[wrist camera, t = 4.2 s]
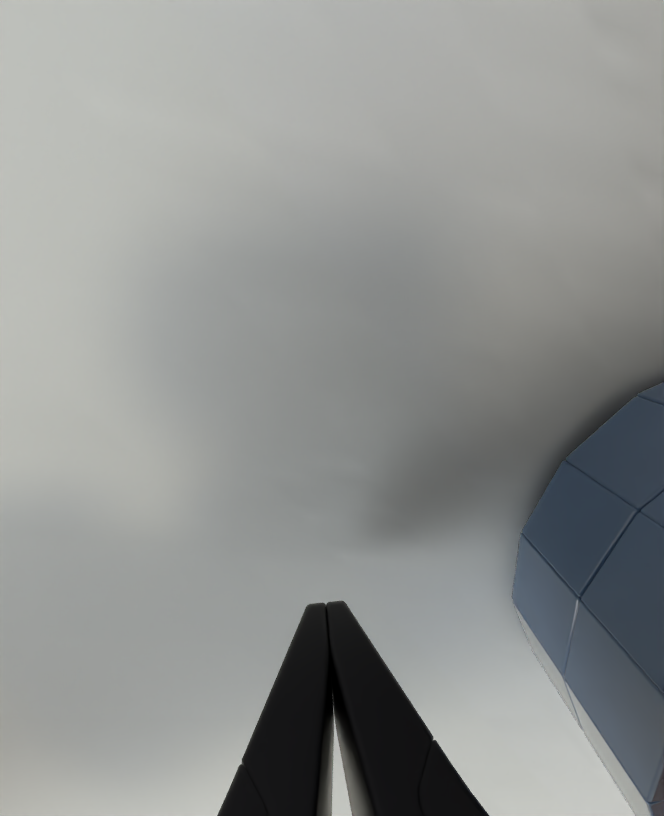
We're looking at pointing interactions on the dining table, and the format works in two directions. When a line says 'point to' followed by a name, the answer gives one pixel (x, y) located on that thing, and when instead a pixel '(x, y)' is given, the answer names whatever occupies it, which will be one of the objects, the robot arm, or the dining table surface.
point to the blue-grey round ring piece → (605, 593)
